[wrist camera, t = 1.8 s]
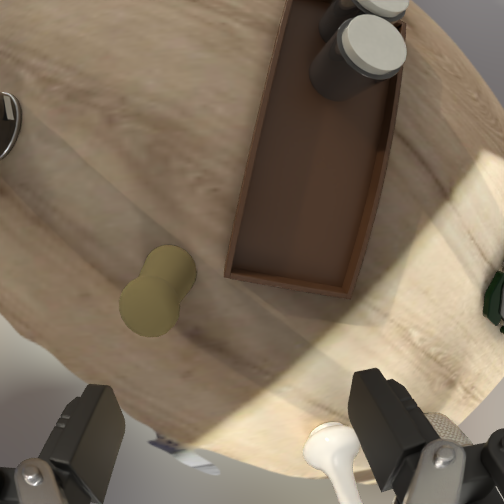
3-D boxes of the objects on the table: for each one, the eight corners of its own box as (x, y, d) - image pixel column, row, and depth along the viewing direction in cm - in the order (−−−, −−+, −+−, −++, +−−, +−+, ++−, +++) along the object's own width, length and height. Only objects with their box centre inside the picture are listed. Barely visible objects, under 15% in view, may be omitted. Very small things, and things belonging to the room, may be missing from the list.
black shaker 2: (303, 92, 28) (337, 58, 18) (313, 46, 27) (347, 0, 16) (355, 108, 29) (407, 86, 18) (363, 63, 28) (412, 29, 17)
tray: (224, 269, 33) (223, 277, 31) (288, -10, 25) (292, -20, 23) (343, 291, 35) (350, 299, 32) (397, 29, 27) (406, 23, 24)
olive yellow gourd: (142, 244, 32) (104, 278, 21) (196, 245, 32) (178, 281, 22) (146, 295, 34) (115, 345, 23) (197, 297, 34) (184, 350, 23)
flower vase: (263, 458, 42) (279, 585, 18) (330, 388, 39) (392, 538, 15) (322, 469, 45) (352, 576, 21) (388, 406, 41) (454, 522, 17)
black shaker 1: (313, 44, 27) (347, -3, 16) (321, 5, 25) (353, -45, 15) (363, 61, 27) (412, 26, 17) (369, 22, 26) (413, -18, 15)
